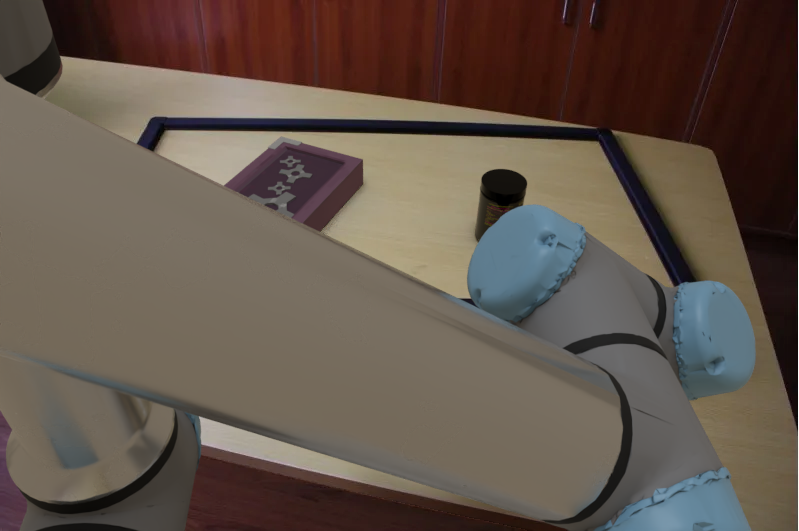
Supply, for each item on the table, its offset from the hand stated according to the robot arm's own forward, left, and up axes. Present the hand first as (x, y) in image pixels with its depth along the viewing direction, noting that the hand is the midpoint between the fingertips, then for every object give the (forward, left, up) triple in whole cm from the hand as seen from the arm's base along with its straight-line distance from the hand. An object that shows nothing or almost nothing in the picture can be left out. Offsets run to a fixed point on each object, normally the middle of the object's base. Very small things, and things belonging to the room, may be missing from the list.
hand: (398, 390), depth 69 cm
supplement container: (+36, +15, -7) cm, 39 cm away
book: (+16, +43, -7) cm, 46 cm away
